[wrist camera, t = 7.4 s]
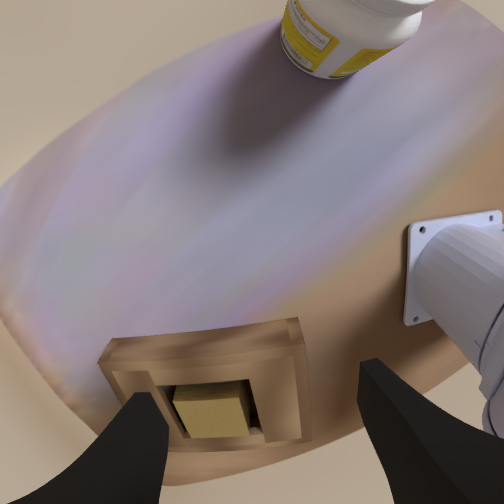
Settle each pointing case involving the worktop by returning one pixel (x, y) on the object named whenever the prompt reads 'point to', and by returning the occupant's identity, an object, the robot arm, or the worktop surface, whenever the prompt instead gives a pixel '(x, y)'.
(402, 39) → the supplement bottle
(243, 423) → the wooden block
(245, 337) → the brown wooden frame
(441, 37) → the worktop surface
